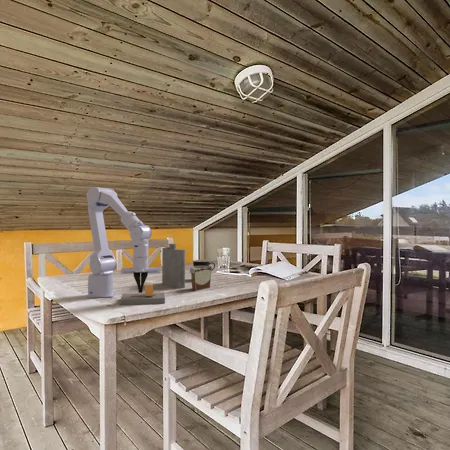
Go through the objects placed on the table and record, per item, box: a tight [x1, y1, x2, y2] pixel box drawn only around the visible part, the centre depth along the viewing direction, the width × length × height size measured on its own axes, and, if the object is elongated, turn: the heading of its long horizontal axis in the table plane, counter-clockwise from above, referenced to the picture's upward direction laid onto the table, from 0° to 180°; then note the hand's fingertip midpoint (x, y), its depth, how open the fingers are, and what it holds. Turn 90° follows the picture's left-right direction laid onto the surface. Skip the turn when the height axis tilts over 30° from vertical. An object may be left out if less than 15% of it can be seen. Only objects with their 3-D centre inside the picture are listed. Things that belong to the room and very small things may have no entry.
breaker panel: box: [120, 291, 166, 306], centre depth 134 cm, size 16×10×2 cm, turn 102°
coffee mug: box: [192, 259, 216, 271], centre depth 182 cm, size 12×9×10 cm
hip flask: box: [161, 243, 186, 289], centre depth 165 cm, size 16×4×20 cm, turn 44°
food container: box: [189, 265, 213, 292], centre depth 159 cm, size 12×6×10 cm, turn 141°
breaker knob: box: [144, 280, 154, 296], centre depth 135 cm, size 3×5×5 cm, turn 12°
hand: (140, 292), depth 134 cm, fingers closed
